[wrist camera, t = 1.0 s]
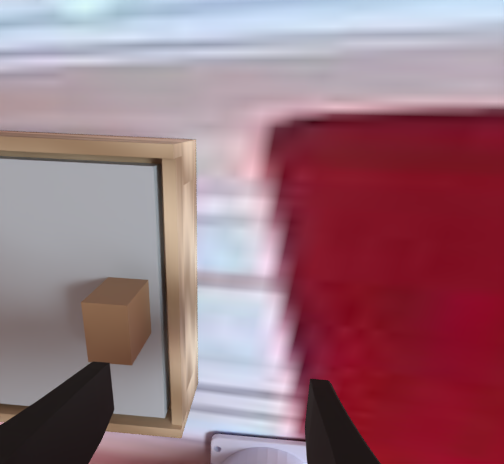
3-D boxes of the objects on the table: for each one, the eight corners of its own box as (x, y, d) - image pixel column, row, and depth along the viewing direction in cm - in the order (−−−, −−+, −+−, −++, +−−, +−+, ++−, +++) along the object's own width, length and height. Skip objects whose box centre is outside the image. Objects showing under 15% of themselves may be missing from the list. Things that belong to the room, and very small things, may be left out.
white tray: (169, 404, 20) (149, 459, 17) (-41, 385, 21) (-101, 435, 18) (160, 163, 16) (130, 174, 13) (-103, 150, 17) (-197, 157, 13)
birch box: (197, 383, 23) (181, 438, 19) (0, 366, 24) (-57, 416, 20) (196, 139, 19) (173, 144, 14) (-52, 128, 19) (-140, 129, 15)
